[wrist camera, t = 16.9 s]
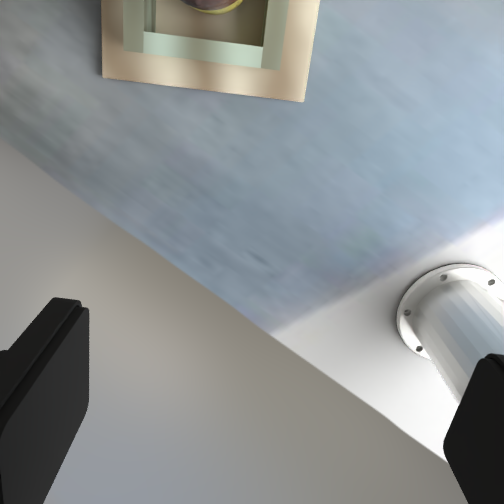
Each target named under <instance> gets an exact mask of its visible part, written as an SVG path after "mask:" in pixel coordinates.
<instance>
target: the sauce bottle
mask: <svg viewBox="0 0 504 504" xmlns="http://www.w3.org/2000/svg"><path fill="white" fill-rule="evenodd" d="M181 1H182V2H184V3H185V4H187V5H189V6H191V7H193V8H194V9H196V10H198V11H201V12H204V13H207V14H211V15H220V14H225V13H228V12H230V11H232V10H233V9H235V8H236V7H238V6H239V5H240V4H241V3H242V2H243V0H181Z"/></svg>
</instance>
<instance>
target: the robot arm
mask: <svg viewBox="0 0 504 504" xmlns="http://www.w3.org/2000/svg"><path fill="white" fill-rule="evenodd" d="M396 320H397V328H398V331H399V334H400V336H401V338H402V339H403V341H404V343H405V344H406V345H407V346H408V348H409V349H410V350H412V351H413V352H414V353H416V354H417V355H420V356H422V357H424V358H427V359H431V361H432V362H433V364H434V366H435V367H436V369H437V370H438V372H439V374H440V375H441V377H442V378H443V380H444V382H445V383H446V385H447V386H448V388H449V390H450V391H451V393H452V394H453V396H454V398H455V399H456V401H457V402H458V404H459V406H458V409H457V411H456V413H455V416H454V418H453V420H452V423H451V425H450V427H449V430H448V432H447V434H446V437H445V439H444V443H443V450H444V454H445V457H446V459H447V461H448V463H449V465H450V467H451V469H452V471H453V473H454V475H455V477H456V479H457V481H458V483H459V485H460V487H461V489H462V491H463V493H464V495H465V497H466V500H467V502H468V504H504V284H503V283H502V282H501V281H500V280H499V278H497V277H496V276H495V275H494V274H493V273H491V272H490V271H488V270H486V269H484V268H483V267H479V266H476V265H471V264H452V265H448V266H444V267H440V268H438V269H435V270H433V271H431V272H429V273H427V274H426V275H424V276H422V277H421V278H420V279H418V280H417V281H416V282H415V283H414V284H413V285H412V286H411V287H410V288H409V289H408V290H407V292H406V293H405V295H404V296H403V298H402V300H401V302H400V305H399V307H398V310H397V318H396ZM88 402H89V309H88V308H84V307H82V305H81V302H80V301H79V300H72V299H65V298H56V297H55V298H52V299H51V300H50V302H49V303H48V304H47V305H46V306H45V307H44V309H43V310H42V311H41V312H40V313H39V315H38V316H37V317H36V318H35V319H34V320H33V321H32V323H31V324H30V325H29V326H28V327H27V328H26V330H25V331H24V332H23V333H22V334H21V336H20V337H19V338H18V339H17V340H16V341H15V343H14V344H13V345H12V346H11V347H10V348H9V350H2V351H0V504H43V503H44V500H45V498H46V496H47V494H48V492H49V490H50V488H51V486H52V484H53V482H54V479H55V477H56V475H57V473H58V471H59V469H60V467H61V465H62V463H63V461H64V459H65V456H66V454H67V452H68V450H69V448H70V446H71V444H72V442H73V440H74V438H75V435H76V433H77V431H78V429H79V427H80V425H81V423H82V421H83V419H84V416H85V414H86V411H87V408H88Z"/></svg>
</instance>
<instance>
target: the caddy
mask: <svg viewBox="0 0 504 504" xmlns="http://www.w3.org/2000/svg"><path fill="white" fill-rule="evenodd" d="M319 3H320V0H243V2H242V3H241V4H240V5H239V6H238V7H236V8H235V9H233V10H232V11H230V12H228V13H225V14H220V15H211V14H207V13H204V12H201V11H198V10H196V9H194V8H193V7H191V6H189V5H187V4H185V3H184V2H182V1H181V0H101V24H102V73H103V78H111V79H119V80H127V81H135V82H143V83H151V84H159V85H167V86H176V87H184V88H192V89H200V90H208V91H216V92H224V93H232V94H241V95H249V96H257V97H265V98H273V99H281V100H289V101H297V102H304V97H305V91H306V85H307V79H308V72H309V66H310V60H311V53H312V47H313V41H314V34H315V28H316V22H317V16H318V9H319Z"/></svg>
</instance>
